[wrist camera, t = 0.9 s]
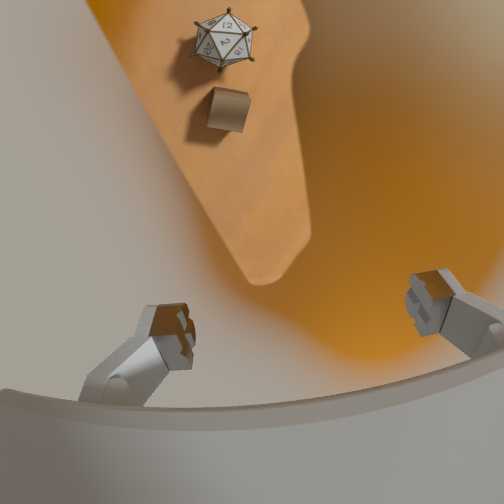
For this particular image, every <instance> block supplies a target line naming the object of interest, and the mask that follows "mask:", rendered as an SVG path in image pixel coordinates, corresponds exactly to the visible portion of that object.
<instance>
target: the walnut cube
mask: <svg viewBox="0 0 504 504" xmlns="http://www.w3.org/2000/svg"><path fill="white" fill-rule="evenodd" d="M250 103H251V99H250V97H249V95H248V93H247V92H242V91H237V90H232V89H227V88H221V87H216V86H214V90H213V94H212V98H211V102H210V106H209V111H208V115H207V127H211V128H217V129H223V130H228V131H234V132H239V133H242V132H243V128H244V124H245V121H246V117H247V114H248V110H249V107H250Z"/></svg>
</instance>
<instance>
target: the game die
mask: <svg viewBox="0 0 504 504" xmlns="http://www.w3.org/2000/svg"><path fill="white" fill-rule="evenodd" d="M230 11H231V8H230V7H229V8H228V9H227V13H225V14H223V15H220V16H218V17H215V18H213V19H210V20H208V21H206V22H203V23H201V24H199V22H194V24H195V25H196V26H198V32H197V39H196V46H195V52H194V53H190V55H189V57H193V56H194V55H198V56H200V57H201V58H203V59H205V60H207V61H209V62H210V63H212V64H214V65H216V66H217V67H219V69H218V72H219V73H220V72H221V71H222V67H225V66H228V65H230V64H233V63H236V62H239V61H242V60H245V59H250V60H251V61H254V62H255V60H254V58H252V57H250V53H251V43H252V34H253V30H257V28H258V27H253V28H251V27H249V26H248V25H246V24H245V23H244V22H242V21H241V20H239V19H238V18H236V17H235V16H234V15H232V14H231V13H230Z"/></svg>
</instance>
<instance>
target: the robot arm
mask: <svg viewBox="0 0 504 504" xmlns="http://www.w3.org/2000/svg"><path fill="white" fill-rule="evenodd" d="M409 284H410V286H411V288H410V289H409V290H408V291H407V293H406V299H405V301H406V309H407V312H408V314H409V315H410V317H412V318H413V319H415V324H414V325H415V327H416V329H417V331H418V332H419V334H420V336H421V337H424V336H429V335H433V334H437V333H440V335H442V336H443V337H444V338H445V339H447V340H448V341H449V342H451V343H452V344H453V345H455V346H456V347H457V348H458V349H460V350H461V351H462V352H464V353H465V354H466V355H468V356H469V357H470V358H471V359H470V360H467V361H464V362H461V363H458V364H455V365H452V366H450V367H446V368H443V369H440V370H437V371H433V372H430V373H427V374H423V375H420V376H416V377H412V378H409V379H405V380H401V381H397V382H393V383H389V384H385V385H380V386H376V387H372V388H367V389H362V390H358V391H352V392H347V393H342V394H336V395H330V396H324V397H317V398H311V399H303V400H296V401H288V402H279V403H270V404H259V405H247V406H231V407H205V408H160V407H159V408H158V407H156V408H155V407H144V406H143V404H144V403H145V402H146V401H147V399H148V398H149V397H150V396H151V395H152V393H153V392H154V391H155V390H156V388H157V387H158V386H159V384H160V383H161V382H162V381H163V379H164V378H165V377H166V376H167V374H168V373H169V371H171V370H189V369H192V363H193V356H194V354H193V352H192V348H193V347H194V346H195V341H196V333H195V327H194V323H193V320H191V319H190V318H189V309H188V306H187V304H186V303H175V304H159V305H147V306H145V307H144V309H143V312H142V314H141V318H140V320H139V323H138V327H137V329H136V332H135V335H134V337H131V338H129V339H128V340H127V341H126V342H124V343H123V344H122V345H121V346H120V347H119V348H118V349H117V350H115V351H114V352H113V353H112V354H111V355H110V356H108V357H107V358H106V359H105V360H104V361H103V362H102V363H100V364H99V365H98V366H97V367H96V368H95V369H94V370H93V371H91V372H90V373H89V374H88V375H87V377H86V380H85V382H84V385H83V388H82V391H81V393H80V396H79V399H78V401H72V400H65V399H58V398H52V397H46V396H40V395H34V394H30V393H25V392H20V391H16V390H12V389H2V390H0V504H504V310H503V309H502V308H500V307H498V306H496V305H494V304H492V303H490V302H488V301H486V300H484V299H482V298H480V297H478V296H476V295H474V294H472V293H470V292H468V293H466V291H465V290H464V289H463V287H462V286H461V285H460V284H459V282H458V281H457V280H456V278H455V277H454V276H453V275H452V274H451V272H450V271H449V270H448V269H447V268H440V269H435V270H432V271H426V272H420V273H415V274H412V275H411V276H410V279H409Z"/></svg>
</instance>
